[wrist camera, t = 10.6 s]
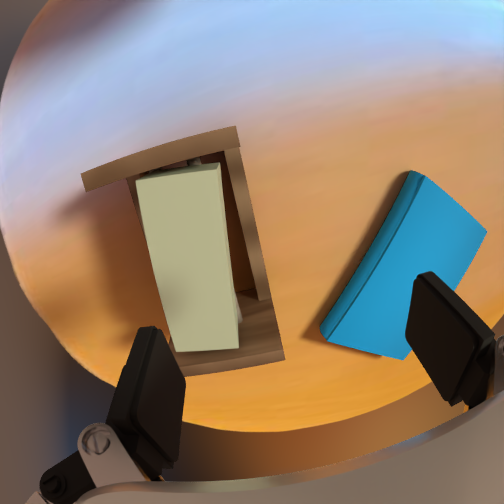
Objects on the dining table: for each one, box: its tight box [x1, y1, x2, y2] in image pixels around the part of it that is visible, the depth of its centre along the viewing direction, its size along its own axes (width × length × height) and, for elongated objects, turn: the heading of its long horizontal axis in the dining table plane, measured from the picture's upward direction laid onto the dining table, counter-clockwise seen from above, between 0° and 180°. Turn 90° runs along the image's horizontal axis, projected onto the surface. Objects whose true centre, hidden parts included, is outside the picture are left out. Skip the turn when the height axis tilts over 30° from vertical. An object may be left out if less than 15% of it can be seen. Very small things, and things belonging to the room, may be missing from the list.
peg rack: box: [81, 126, 285, 377], centre depth 28 cm, size 21×12×12 cm, turn 12°
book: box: [320, 170, 487, 360], centre depth 36 cm, size 17×4×25 cm
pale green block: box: [136, 162, 239, 352], centre depth 25 cm, size 16×6×5 cm, turn 4°
